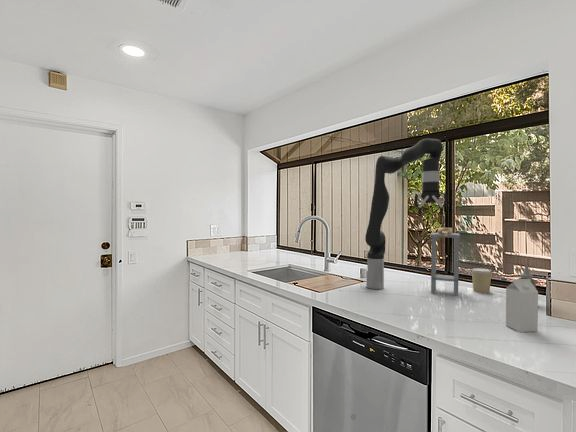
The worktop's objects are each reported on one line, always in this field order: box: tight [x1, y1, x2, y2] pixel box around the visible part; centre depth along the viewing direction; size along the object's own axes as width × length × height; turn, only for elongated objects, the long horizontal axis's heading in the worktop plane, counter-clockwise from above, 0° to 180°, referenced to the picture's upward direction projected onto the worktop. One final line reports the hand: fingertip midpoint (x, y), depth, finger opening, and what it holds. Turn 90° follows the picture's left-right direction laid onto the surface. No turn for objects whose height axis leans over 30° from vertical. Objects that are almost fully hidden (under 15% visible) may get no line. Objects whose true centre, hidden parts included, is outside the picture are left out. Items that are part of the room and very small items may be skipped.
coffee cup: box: [471, 267, 493, 294], centre depth 178 cm, size 9×9×12 cm
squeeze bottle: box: [518, 266, 537, 289], centre depth 154 cm, size 8×8×18 cm
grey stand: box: [429, 232, 461, 297], centre depth 176 cm, size 14×10×32 cm
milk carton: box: [505, 278, 539, 333], centre depth 124 cm, size 7×7×19 cm
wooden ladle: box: [437, 227, 453, 236], centre depth 171 cm, size 7×19×3 cm, turn 153°
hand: (430, 215), depth 153 cm, fingers open, 8 cm apart
